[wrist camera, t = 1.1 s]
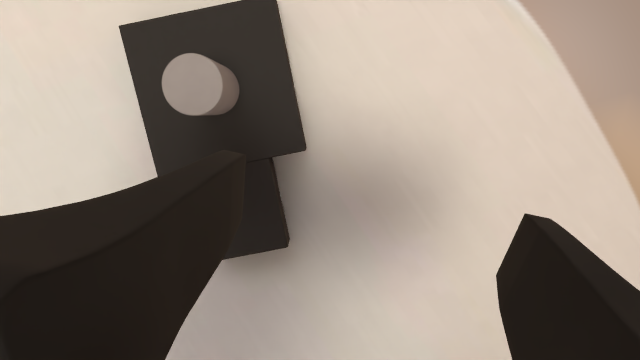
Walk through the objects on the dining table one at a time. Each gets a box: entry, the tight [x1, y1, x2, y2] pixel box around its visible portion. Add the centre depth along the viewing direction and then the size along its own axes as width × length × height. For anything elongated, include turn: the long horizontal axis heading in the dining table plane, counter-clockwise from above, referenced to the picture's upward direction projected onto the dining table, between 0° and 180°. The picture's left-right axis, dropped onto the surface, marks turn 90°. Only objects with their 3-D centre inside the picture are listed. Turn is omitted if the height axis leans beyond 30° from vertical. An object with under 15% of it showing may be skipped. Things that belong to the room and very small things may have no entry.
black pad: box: [119, 0, 306, 260], centre depth 21 cm, size 8×13×6 cm, turn 11°
